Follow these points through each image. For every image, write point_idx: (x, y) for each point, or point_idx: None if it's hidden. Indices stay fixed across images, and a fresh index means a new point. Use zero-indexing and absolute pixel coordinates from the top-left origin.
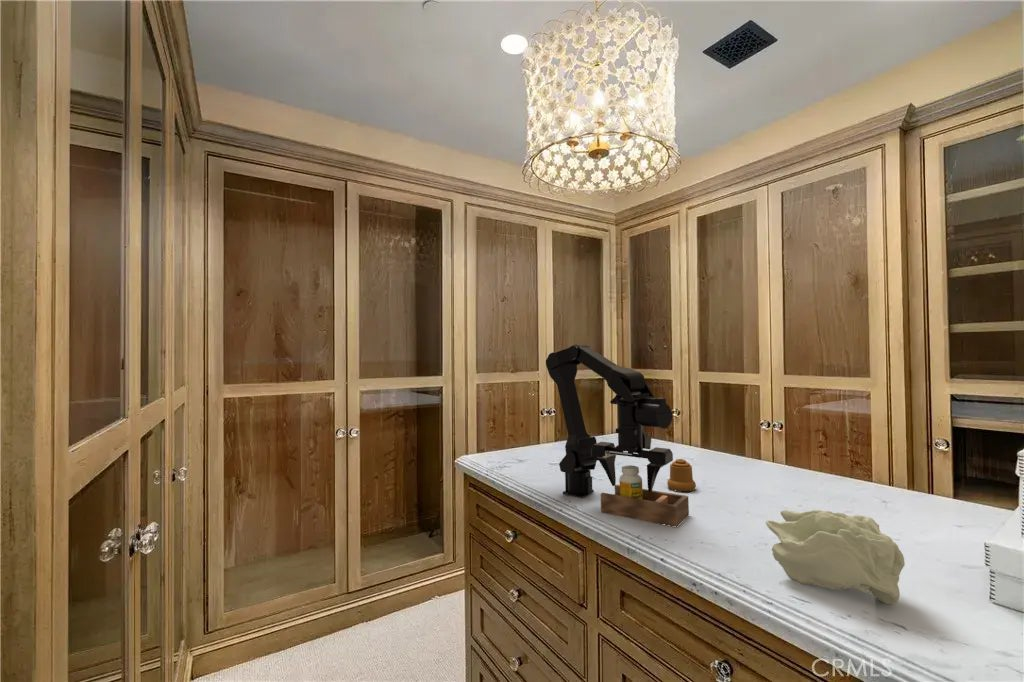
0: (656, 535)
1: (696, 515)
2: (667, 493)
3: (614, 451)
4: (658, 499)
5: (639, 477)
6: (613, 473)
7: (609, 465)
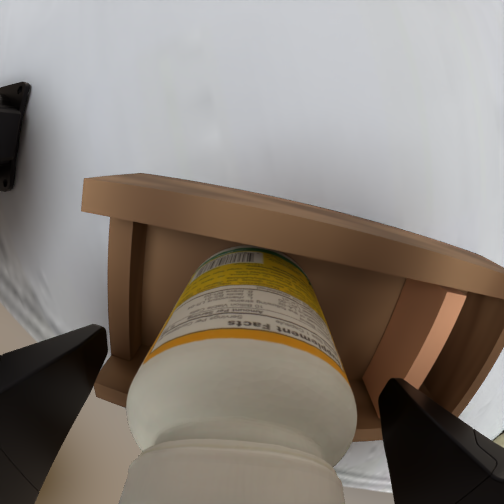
0: (353, 443)
1: (496, 243)
2: (475, 282)
3: None
4: (412, 371)
5: (336, 461)
6: (52, 402)
7: (25, 486)
